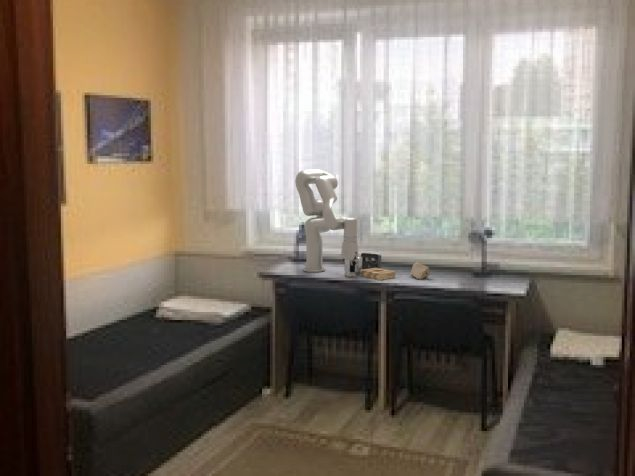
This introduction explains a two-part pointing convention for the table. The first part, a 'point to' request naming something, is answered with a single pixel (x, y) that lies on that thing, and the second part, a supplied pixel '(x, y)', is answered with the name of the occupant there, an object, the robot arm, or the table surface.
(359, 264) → the round bit
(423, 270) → the decorative stone
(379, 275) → the bore block
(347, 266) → the square bit
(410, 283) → the table surface
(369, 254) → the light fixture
